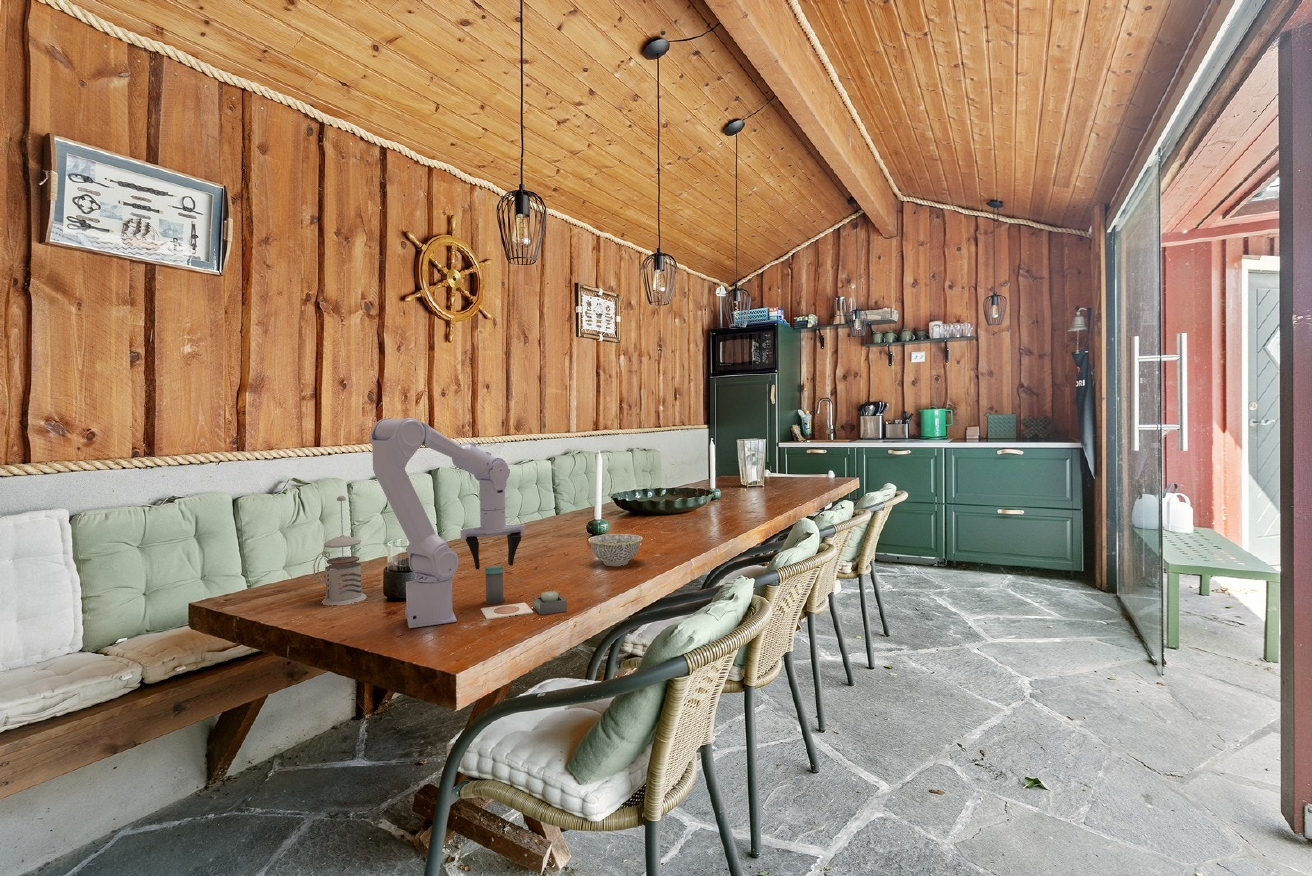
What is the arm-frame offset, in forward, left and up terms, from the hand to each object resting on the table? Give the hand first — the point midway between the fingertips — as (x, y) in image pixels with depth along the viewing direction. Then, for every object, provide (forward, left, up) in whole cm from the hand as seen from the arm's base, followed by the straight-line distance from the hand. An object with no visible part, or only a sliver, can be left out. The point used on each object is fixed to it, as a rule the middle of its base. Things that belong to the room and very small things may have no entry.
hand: (494, 566), depth 149 cm
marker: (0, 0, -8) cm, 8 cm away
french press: (-33, +18, -9) cm, 39 cm away
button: (+10, -12, -7) cm, 17 cm away
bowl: (+39, +23, -9) cm, 46 cm away
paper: (+1, -9, -8) cm, 12 cm away
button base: (+10, -12, -8) cm, 18 cm away
